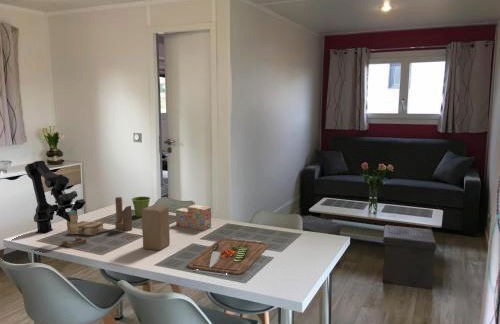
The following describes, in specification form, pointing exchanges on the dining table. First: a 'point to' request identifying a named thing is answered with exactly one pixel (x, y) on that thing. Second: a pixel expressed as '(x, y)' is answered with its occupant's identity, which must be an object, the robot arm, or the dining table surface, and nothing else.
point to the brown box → (89, 227)
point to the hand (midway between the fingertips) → (73, 220)
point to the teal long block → (72, 222)
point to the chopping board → (228, 256)
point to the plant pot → (140, 204)
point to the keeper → (78, 242)
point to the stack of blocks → (194, 217)
